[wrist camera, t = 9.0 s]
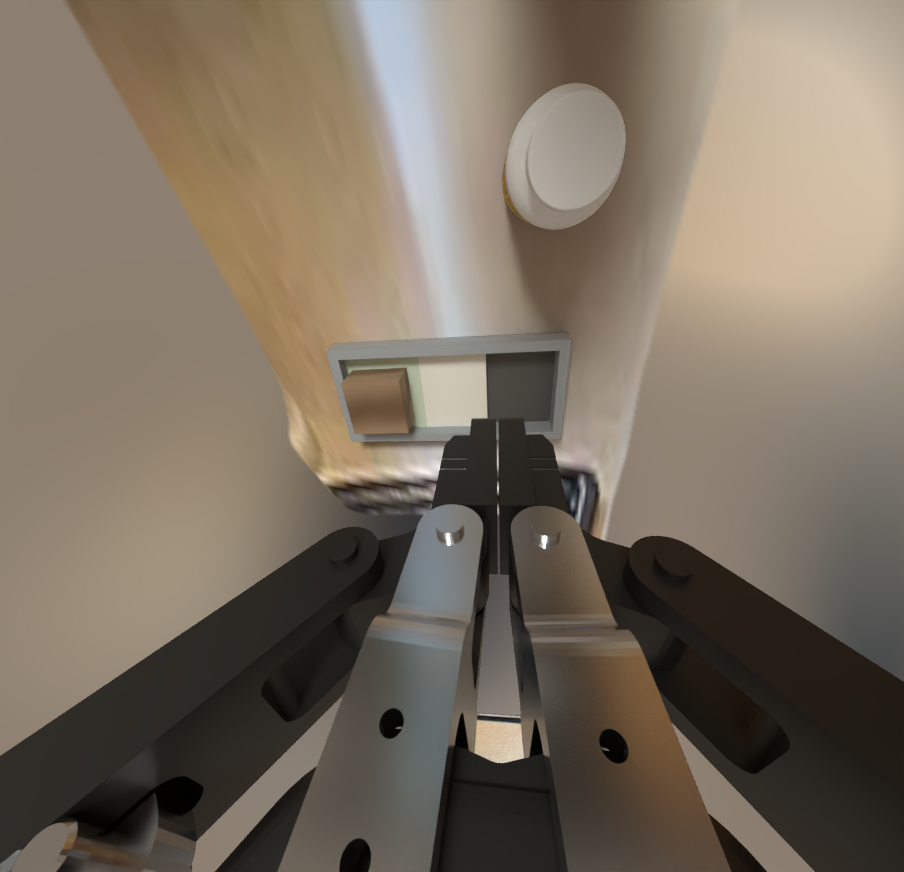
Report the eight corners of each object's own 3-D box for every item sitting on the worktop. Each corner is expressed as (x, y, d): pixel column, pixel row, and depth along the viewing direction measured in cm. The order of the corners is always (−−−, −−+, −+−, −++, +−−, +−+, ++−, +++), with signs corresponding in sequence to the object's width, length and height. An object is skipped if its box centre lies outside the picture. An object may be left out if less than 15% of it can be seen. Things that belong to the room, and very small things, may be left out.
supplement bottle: (489, 153, 27) (486, 112, 16) (573, 100, 25) (634, 14, 14) (518, 240, 30) (532, 254, 19) (596, 200, 28) (660, 191, 17)
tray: (335, 343, 37) (326, 350, 35) (567, 331, 34) (571, 339, 32) (358, 430, 43) (351, 441, 41) (557, 427, 40) (561, 439, 38)
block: (352, 370, 37) (340, 383, 34) (406, 367, 37) (398, 380, 34) (364, 418, 40) (354, 434, 38) (414, 417, 40) (408, 433, 37)
